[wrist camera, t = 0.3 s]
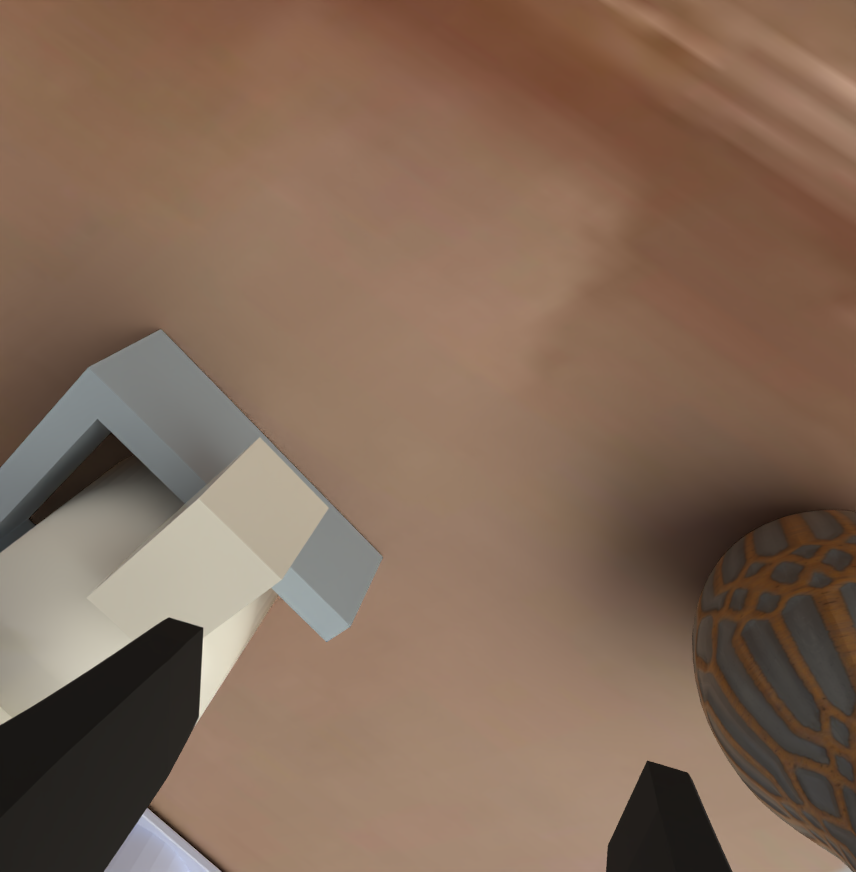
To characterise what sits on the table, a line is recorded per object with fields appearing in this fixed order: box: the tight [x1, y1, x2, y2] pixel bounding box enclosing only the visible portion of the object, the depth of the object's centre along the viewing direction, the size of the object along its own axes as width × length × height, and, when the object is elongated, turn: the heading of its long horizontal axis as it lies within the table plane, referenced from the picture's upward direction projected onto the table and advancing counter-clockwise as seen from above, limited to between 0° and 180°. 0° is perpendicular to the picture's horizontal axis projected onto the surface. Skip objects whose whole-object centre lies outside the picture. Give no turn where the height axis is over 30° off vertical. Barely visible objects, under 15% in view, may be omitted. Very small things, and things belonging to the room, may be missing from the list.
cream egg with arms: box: [0, 437, 329, 727], centre depth 22 cm, size 17×7×7 cm, turn 133°
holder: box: [0, 329, 383, 642], centre depth 23 cm, size 11×10×3 cm
